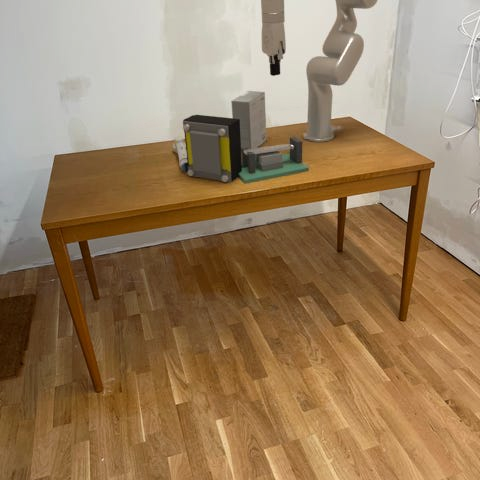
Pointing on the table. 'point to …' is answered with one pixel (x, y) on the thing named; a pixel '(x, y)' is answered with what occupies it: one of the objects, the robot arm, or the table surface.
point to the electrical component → (213, 147)
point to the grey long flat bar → (270, 148)
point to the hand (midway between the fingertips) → (275, 74)
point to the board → (273, 173)
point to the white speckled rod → (181, 152)
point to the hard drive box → (250, 118)
